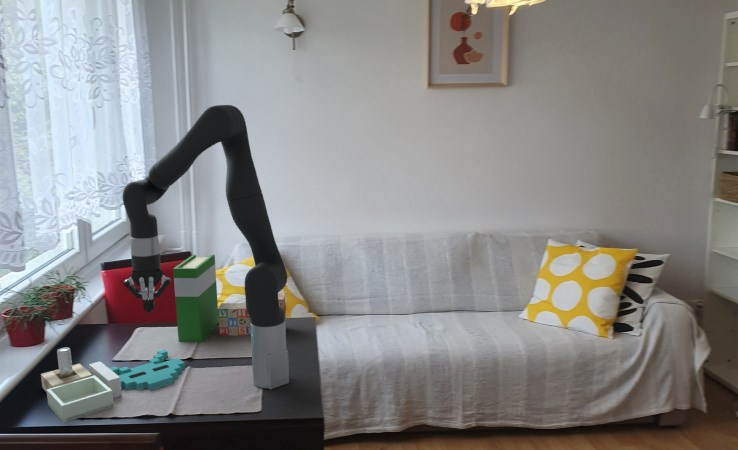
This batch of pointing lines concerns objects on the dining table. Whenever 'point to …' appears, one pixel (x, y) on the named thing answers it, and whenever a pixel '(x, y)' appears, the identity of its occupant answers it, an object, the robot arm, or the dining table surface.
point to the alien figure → (150, 373)
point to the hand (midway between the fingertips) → (149, 311)
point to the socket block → (54, 380)
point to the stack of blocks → (239, 317)
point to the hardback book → (196, 298)
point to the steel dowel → (65, 362)
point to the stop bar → (106, 377)
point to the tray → (79, 398)
